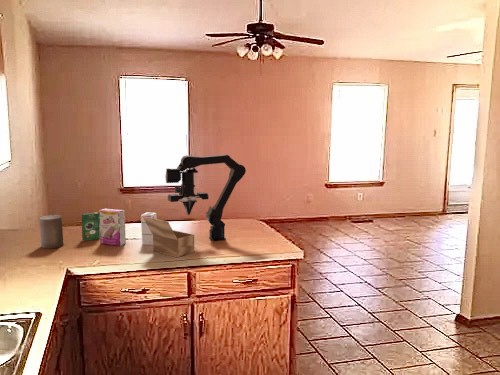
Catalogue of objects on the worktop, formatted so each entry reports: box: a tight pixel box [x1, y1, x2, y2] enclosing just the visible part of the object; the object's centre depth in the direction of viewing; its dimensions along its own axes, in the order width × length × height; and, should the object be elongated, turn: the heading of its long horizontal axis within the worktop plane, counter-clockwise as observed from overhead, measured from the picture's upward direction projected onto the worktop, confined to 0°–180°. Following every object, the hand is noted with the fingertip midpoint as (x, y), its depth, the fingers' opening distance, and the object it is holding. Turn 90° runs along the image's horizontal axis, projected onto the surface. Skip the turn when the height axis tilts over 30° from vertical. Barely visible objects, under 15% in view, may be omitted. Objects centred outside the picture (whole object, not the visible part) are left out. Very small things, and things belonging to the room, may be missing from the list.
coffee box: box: [81, 211, 100, 242], centre depth 239 cm, size 8×3×13 cm, turn 129°
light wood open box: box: [152, 229, 196, 258], centre depth 219 cm, size 10×16×8 cm, turn 51°
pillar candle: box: [39, 213, 64, 249], centre depth 227 cm, size 10×10×15 cm
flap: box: [143, 216, 177, 240], centre depth 212 cm, size 10×16×1 cm
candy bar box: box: [98, 208, 127, 247], centre depth 230 cm, size 11×5×16 cm, turn 71°
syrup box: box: [140, 211, 158, 246], centre depth 232 cm, size 6×6×14 cm
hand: (188, 214), depth 235 cm, fingers closed
